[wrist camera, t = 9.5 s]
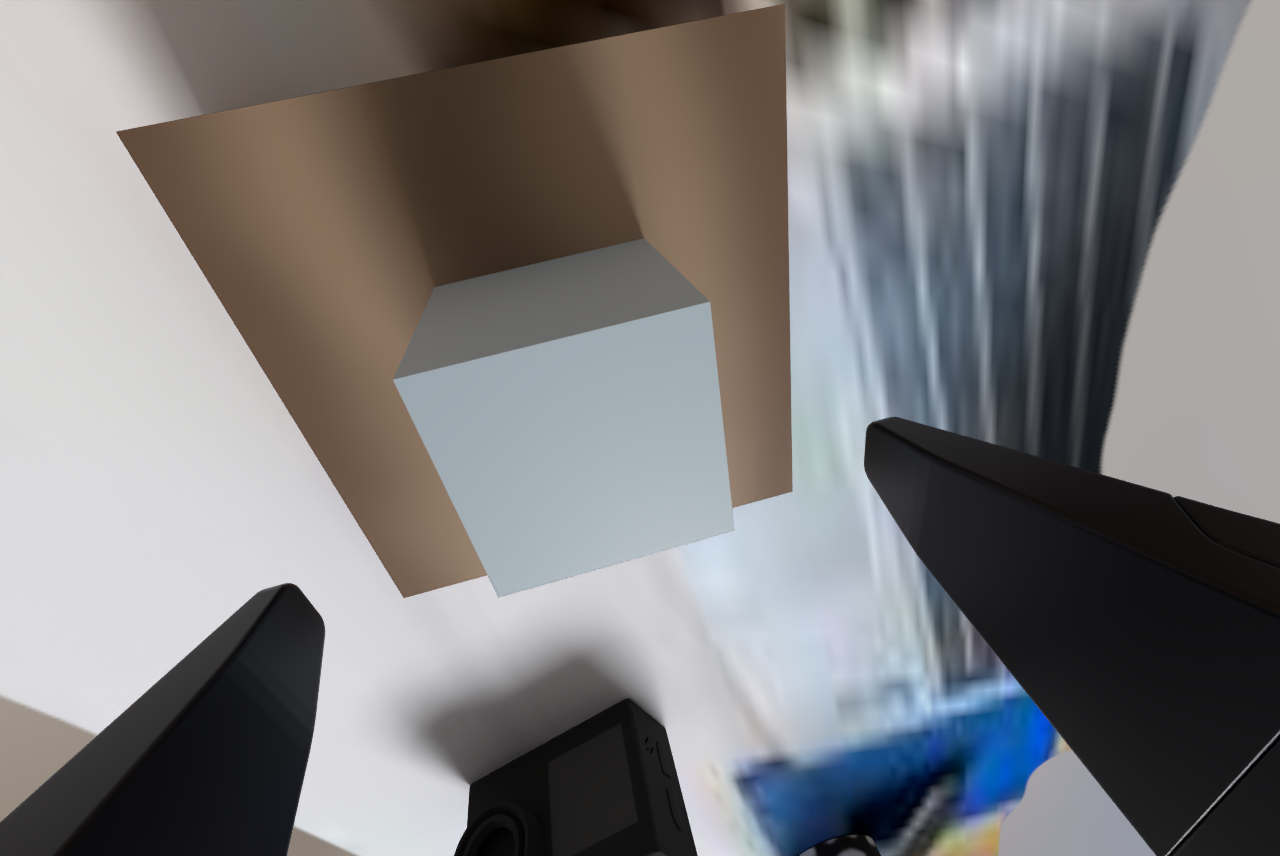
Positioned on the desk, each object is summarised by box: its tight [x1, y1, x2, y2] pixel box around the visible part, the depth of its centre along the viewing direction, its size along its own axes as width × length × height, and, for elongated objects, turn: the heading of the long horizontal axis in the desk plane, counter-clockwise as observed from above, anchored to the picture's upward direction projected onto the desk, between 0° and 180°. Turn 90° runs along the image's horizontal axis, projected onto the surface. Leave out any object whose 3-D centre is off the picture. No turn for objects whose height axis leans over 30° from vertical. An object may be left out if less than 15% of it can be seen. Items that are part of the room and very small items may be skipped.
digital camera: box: [454, 699, 697, 856], centre depth 26 cm, size 10×5×7 cm, turn 120°
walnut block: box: [116, 4, 792, 598], centre depth 15 cm, size 13×13×4 cm
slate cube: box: [393, 238, 735, 598], centre depth 12 cm, size 5×5×5 cm
